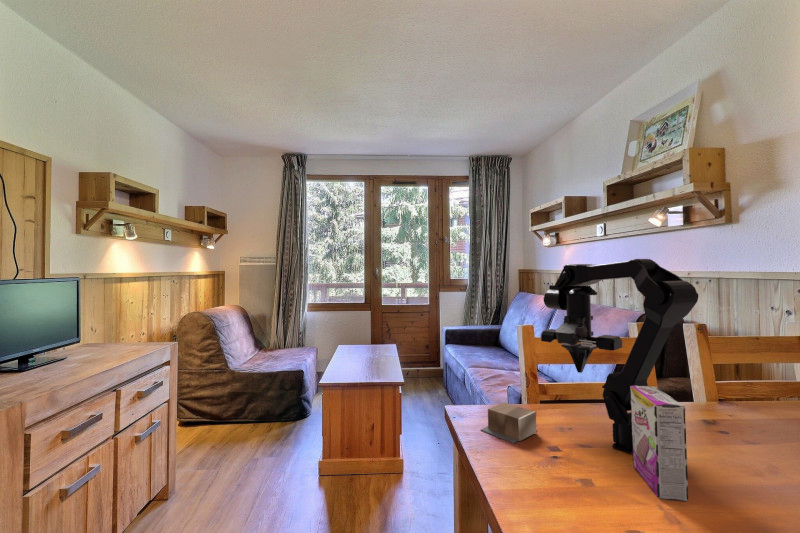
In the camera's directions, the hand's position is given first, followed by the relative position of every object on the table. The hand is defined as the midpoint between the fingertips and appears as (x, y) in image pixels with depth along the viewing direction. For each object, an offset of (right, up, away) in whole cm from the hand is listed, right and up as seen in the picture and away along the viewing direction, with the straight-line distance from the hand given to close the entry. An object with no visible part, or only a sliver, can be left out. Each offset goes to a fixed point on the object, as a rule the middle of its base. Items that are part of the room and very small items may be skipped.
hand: (580, 372), depth 98 cm
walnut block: (-16, -10, -9) cm, 21 cm away
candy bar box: (+1, -13, -29) cm, 31 cm away
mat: (-20, -13, -4) cm, 24 cm away
